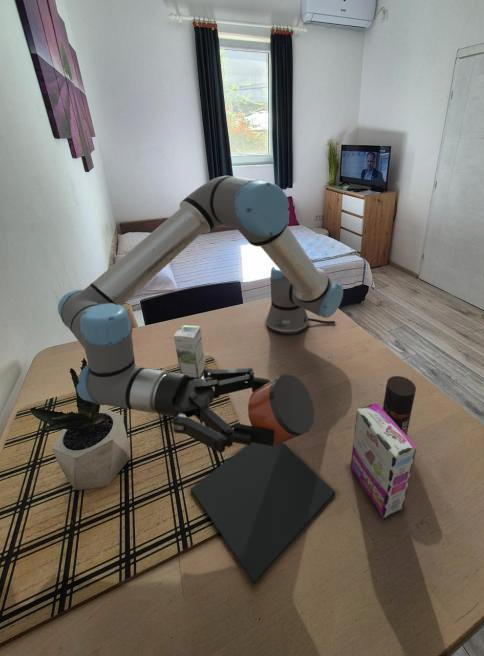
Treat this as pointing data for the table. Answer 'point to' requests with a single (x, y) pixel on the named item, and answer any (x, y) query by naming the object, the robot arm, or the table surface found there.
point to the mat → (261, 502)
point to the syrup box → (190, 350)
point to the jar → (282, 408)
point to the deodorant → (399, 401)
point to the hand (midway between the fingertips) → (279, 411)
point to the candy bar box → (382, 458)
